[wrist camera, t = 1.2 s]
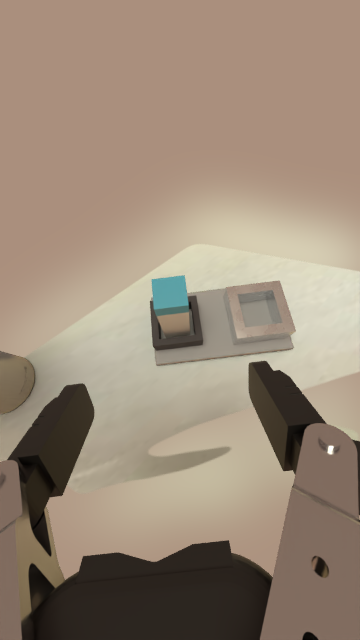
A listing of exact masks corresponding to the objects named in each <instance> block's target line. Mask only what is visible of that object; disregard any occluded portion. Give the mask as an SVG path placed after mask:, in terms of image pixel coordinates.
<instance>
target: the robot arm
mask: <svg viewBox="0 0 360 640" xmlns="http://www.w3.org/2000/svg"><path fill="white" fill-rule="evenodd" d="M34 376H35V374H34V369H33V367H32V365H31V363H30V362H29V361H28V360H26V359H25V358H23V357H19V356H16V355H12V354H8V353H5V352H1V351H0V414H3V413H7V412H10V411H12V410H14V409H16V408H17V407H18V406H20V405H21V404H22V403H23V402H24V401H25V400H26V398H27V397H28V395H29V394H30V392H31V390H32V387H33V384H34ZM249 394H250V398H251V401H252V403H253V406H254V408H255V410H256V412H257V414H258V417H259V419H260V421H261V423H262V425H263V427H264V430H265V432H266V434H267V436H268V438H269V441H270V443H271V445H272V447H273V450H274V452H275V454H276V456H277V458H278V460H279V463H280V465H281V467H282V469H283V471H290V470H293V471H294V473H295V480H294V484H293V486H292V490H291V494H290V499H289V504H288V508H287V513H286V518H285V522H284V527H283V532H282V537H281V542H280V546H279V551H278V556H277V561H276V565H275V570H274V575H273V577H272V576H271V575H270V574H269V573H267V572H266V571H265V570H264V569H263V568H261V567H260V566H259V565H257V564H256V563H254V562H252V561H251V560H249V559H247V558H245V557H242V556H240V555H237V554H233V553H231V549H230V544H229V541H219V542H210V543H201V544H192V545H190V546H188V547H186V548H184V549H182V550H180V551H178V552H176V553H174V554H172V555H170V556H168V557H166V558H164V559H162V560H160V561H157V562H150V561H146V560H143V559H139V558H136V557H132V556H129V555H125V554H122V553H110V554H100V555H91V556H83V559H82V562H81V566H80V570H79V572H77V573H76V574H74V575H72V576H71V577H69V578H68V579H66V580H65V579H64V576H63V574H62V571H61V569H60V567H59V564H58V560H57V555H56V550H55V545H54V539H53V534H52V529H51V524H50V518H49V514H48V509H47V507H46V504H47V502H48V500H49V497H55V496H62V495H63V492H64V490H65V488H66V485H67V483H68V480H69V478H70V476H71V473H72V471H73V468H74V466H75V463H76V461H77V458H78V456H79V454H80V451H81V449H82V446H83V444H84V441H85V439H86V437H87V434H88V432H89V429H90V427H91V424H92V422H93V419H94V407H93V404H92V401H91V399H90V396H89V394H88V391H87V388H86V386H85V385H84V384H74V385H67V386H65V387H64V389H63V390H62V392H61V393H60V395H59V396H58V397H57V398H54V399H53V400H52V401H51V402H50V403H49V404H47V405H46V406H45V407H44V409H43V410H42V412H41V413H40V414H39V416H38V418H37V419H36V420H35V421H34V423H33V424H32V427H30V428H29V430H28V431H27V433H26V434H25V435H24V437H23V438H22V440H21V441H20V443H19V444H18V445H17V447H16V448H15V450H14V451H13V452H12V454H11V455H10V457H9V458H8V459H7V461H3V462H0V640H360V520H359V515H360V441H355V440H352V439H351V438H350V437H349V436H348V435H347V434H346V433H344V432H343V431H341V430H340V429H338V428H336V427H334V426H331V425H328V424H326V423H325V421H324V420H323V419H322V417H321V416H320V415H319V414H318V412H317V411H316V410H315V409H314V407H313V406H312V405H311V403H310V402H309V401H308V400H307V398H306V397H305V396H304V395H303V394H302V392H301V391H300V389H299V388H298V387H296V384H295V383H294V382H293V380H292V379H291V378H290V377H289V376H288V375H286V374H285V373H283V372H282V371H280V370H277V371H273V370H272V368H271V367H270V365H269V364H268V363H267V362H266V361H260V362H252V363H249Z"/></svg>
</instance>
